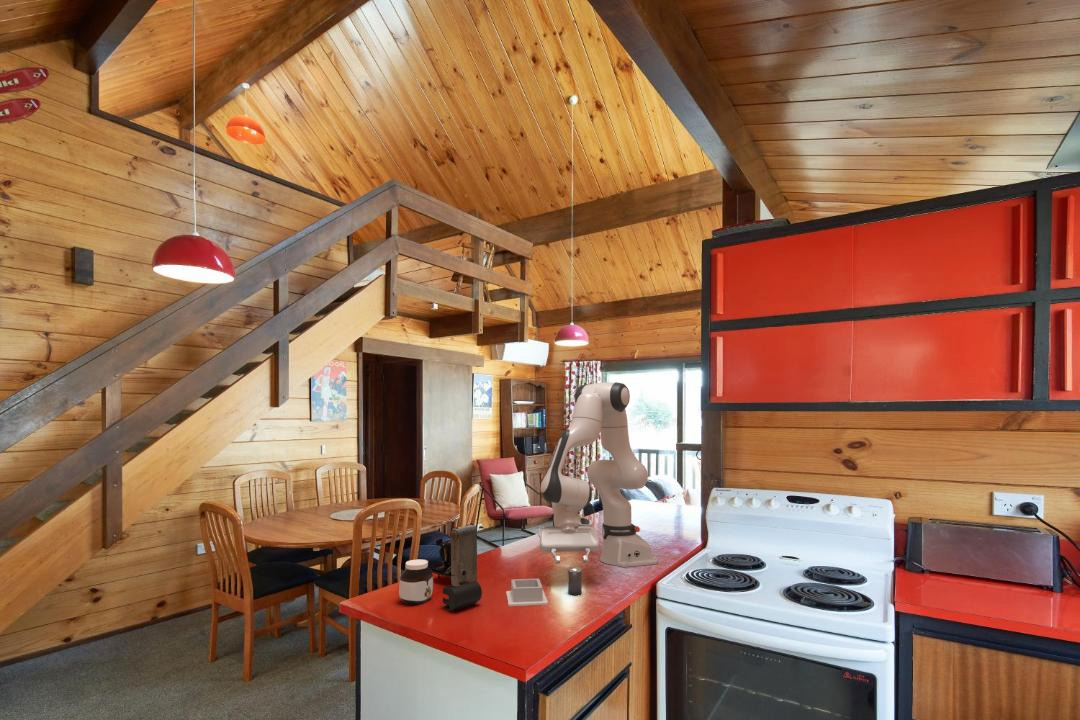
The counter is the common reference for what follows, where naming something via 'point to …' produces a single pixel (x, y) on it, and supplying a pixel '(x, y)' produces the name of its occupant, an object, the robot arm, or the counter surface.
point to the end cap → (461, 595)
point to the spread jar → (416, 582)
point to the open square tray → (526, 593)
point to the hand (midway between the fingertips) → (571, 562)
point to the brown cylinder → (574, 580)
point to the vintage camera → (459, 555)
